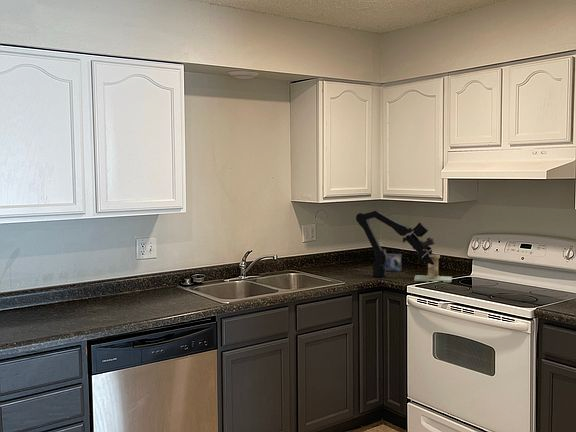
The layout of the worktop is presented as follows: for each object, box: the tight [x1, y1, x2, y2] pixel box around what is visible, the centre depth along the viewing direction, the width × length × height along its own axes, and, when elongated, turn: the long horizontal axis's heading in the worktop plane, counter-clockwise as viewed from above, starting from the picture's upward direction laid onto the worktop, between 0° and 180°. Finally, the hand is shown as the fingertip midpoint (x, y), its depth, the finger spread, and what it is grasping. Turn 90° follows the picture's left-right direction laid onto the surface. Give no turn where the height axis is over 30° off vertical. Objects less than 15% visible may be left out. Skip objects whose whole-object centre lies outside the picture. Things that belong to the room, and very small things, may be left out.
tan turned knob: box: [425, 253, 441, 279], centre depth 337 cm, size 7×7×13 cm
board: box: [414, 274, 453, 283], centre depth 338 cm, size 20×12×1 cm, turn 74°
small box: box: [383, 252, 403, 273], centre depth 368 cm, size 11×6×10 cm, turn 76°
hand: (435, 263), depth 337 cm, fingers open, 9 cm apart
